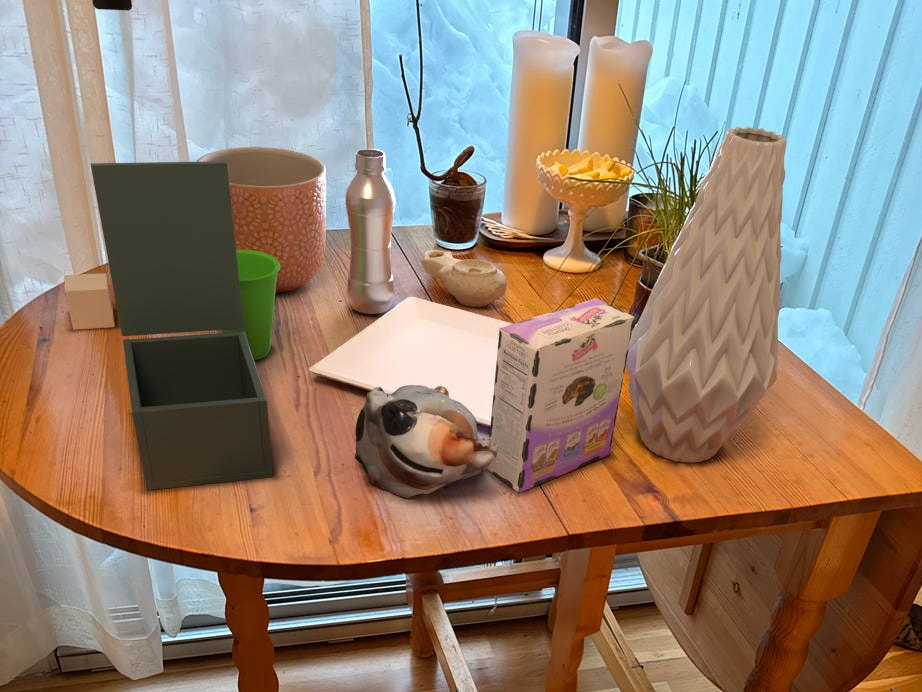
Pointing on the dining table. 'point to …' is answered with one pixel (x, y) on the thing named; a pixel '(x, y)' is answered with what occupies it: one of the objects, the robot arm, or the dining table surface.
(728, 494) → the dining table surface
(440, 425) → the lucky cat figurine
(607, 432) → the candy box
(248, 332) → the cup
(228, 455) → the chest
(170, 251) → the lid
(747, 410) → the vase
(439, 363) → the plate
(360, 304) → the silver metal bottle
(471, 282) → the oil lamp
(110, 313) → the block
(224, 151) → the planter
